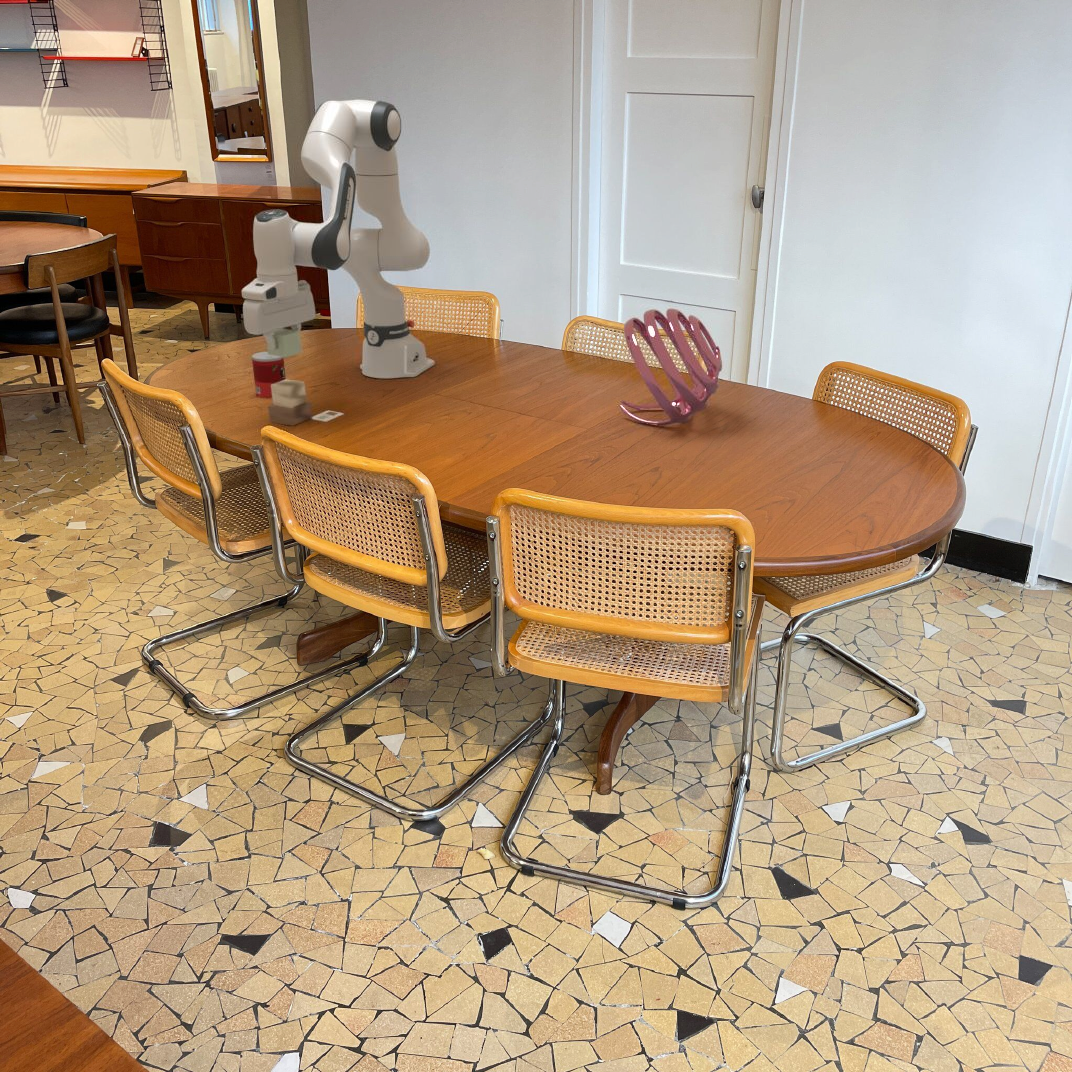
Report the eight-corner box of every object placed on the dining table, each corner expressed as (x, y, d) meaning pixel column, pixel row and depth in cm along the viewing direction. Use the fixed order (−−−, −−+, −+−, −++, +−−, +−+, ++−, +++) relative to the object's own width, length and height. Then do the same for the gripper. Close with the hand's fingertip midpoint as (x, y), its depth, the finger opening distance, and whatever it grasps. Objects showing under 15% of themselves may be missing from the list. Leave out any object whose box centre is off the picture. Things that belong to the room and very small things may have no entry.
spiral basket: (571, 344, 234) (672, 282, 224) (603, 345, 260) (695, 290, 250) (627, 450, 234) (731, 393, 224) (653, 441, 260) (748, 389, 250)
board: (293, 405, 254) (293, 401, 253) (350, 416, 246) (349, 412, 245) (242, 425, 239) (242, 420, 239) (301, 438, 231) (300, 433, 231)
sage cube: (284, 349, 237) (281, 328, 235) (302, 352, 235) (300, 331, 233) (267, 354, 233) (265, 333, 231) (286, 357, 230) (283, 335, 228)
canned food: (280, 402, 256) (275, 360, 252) (250, 400, 258) (246, 358, 253) (292, 393, 263) (288, 352, 258) (264, 391, 264) (259, 350, 260)
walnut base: (290, 413, 245) (288, 398, 243) (312, 417, 242) (310, 401, 240) (270, 421, 239) (268, 405, 238) (292, 425, 236) (290, 409, 235)
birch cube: (289, 399, 242) (286, 379, 240) (306, 402, 240) (304, 381, 238) (273, 405, 238) (270, 384, 236) (291, 408, 235) (288, 387, 233)
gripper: (298, 277, 237) (303, 335, 243) (235, 291, 220) (242, 353, 226) (319, 279, 234) (323, 338, 240) (257, 294, 218) (263, 357, 224)
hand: (283, 346), depth 233 cm, fingers closed on sage cube, 5 cm apart
